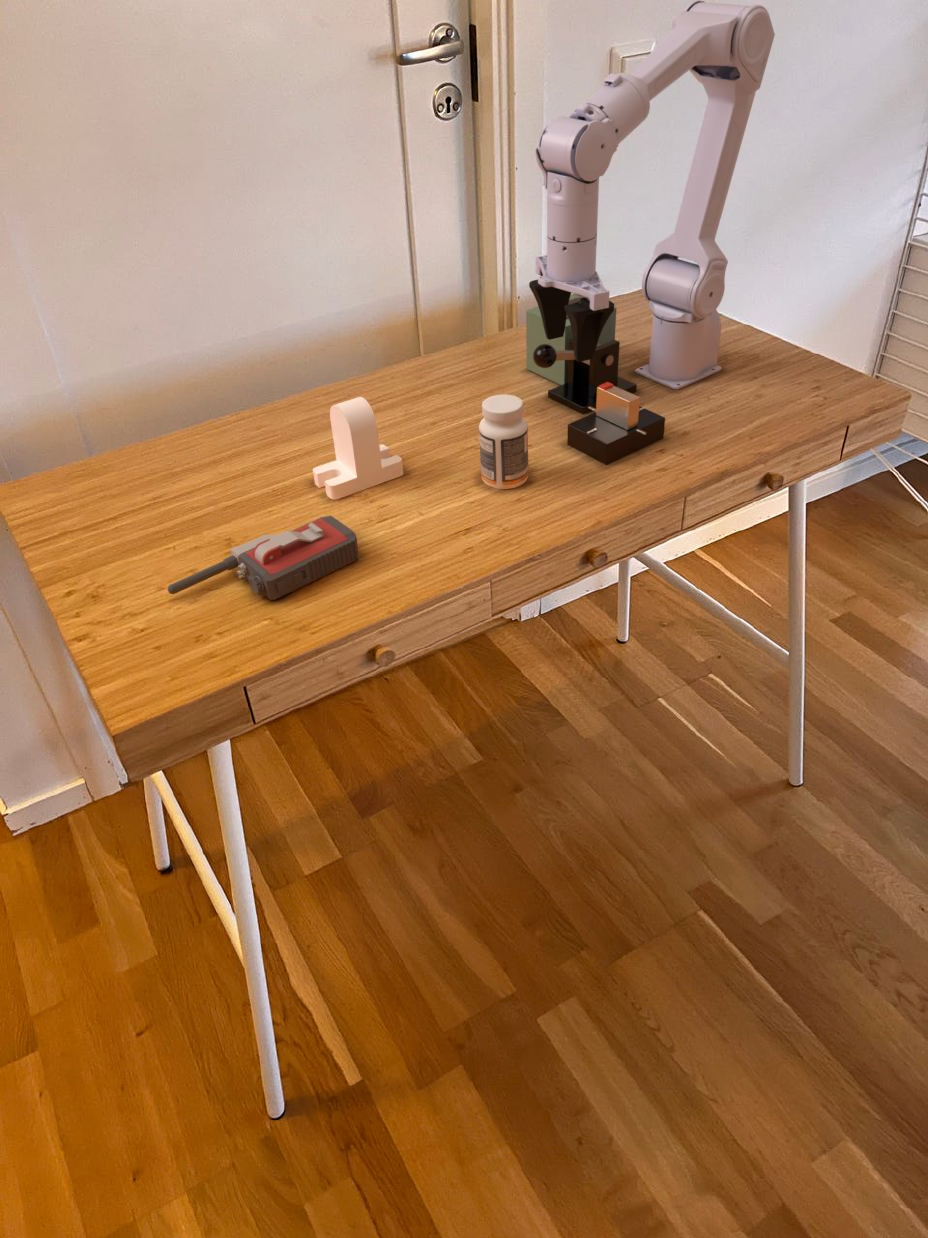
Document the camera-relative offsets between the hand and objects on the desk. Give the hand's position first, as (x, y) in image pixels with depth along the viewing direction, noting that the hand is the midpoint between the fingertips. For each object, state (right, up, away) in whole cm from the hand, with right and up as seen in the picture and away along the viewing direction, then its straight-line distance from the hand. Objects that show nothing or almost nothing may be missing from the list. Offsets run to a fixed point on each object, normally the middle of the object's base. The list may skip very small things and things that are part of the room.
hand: (569, 348), depth 118 cm
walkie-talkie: (-33, -29, -17) cm, 47 cm away
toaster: (+2, +2, +19) cm, 19 cm away
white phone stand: (-26, -16, -2) cm, 31 cm away
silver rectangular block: (+6, -9, 0) cm, 11 cm away
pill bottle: (-8, -17, -3) cm, 19 cm away
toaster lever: (+1, 0, +7) cm, 7 cm away
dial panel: (+6, -11, +2) cm, 13 cm away
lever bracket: (+5, -3, +13) cm, 14 cm away
